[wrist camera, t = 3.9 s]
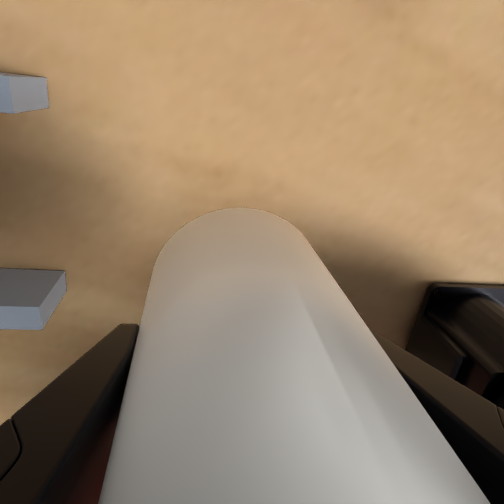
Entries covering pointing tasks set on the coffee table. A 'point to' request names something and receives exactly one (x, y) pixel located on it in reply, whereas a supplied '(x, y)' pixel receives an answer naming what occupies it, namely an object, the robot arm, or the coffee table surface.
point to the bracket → (27, 280)
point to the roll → (267, 385)
